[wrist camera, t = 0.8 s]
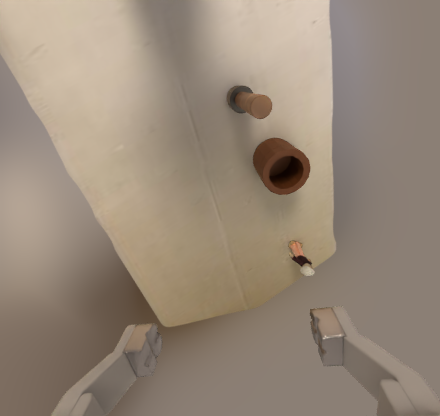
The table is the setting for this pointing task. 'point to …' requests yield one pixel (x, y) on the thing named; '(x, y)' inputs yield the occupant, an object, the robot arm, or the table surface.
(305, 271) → the grandmother figurine
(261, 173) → the cylindrical container
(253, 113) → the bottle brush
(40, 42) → the table surface
